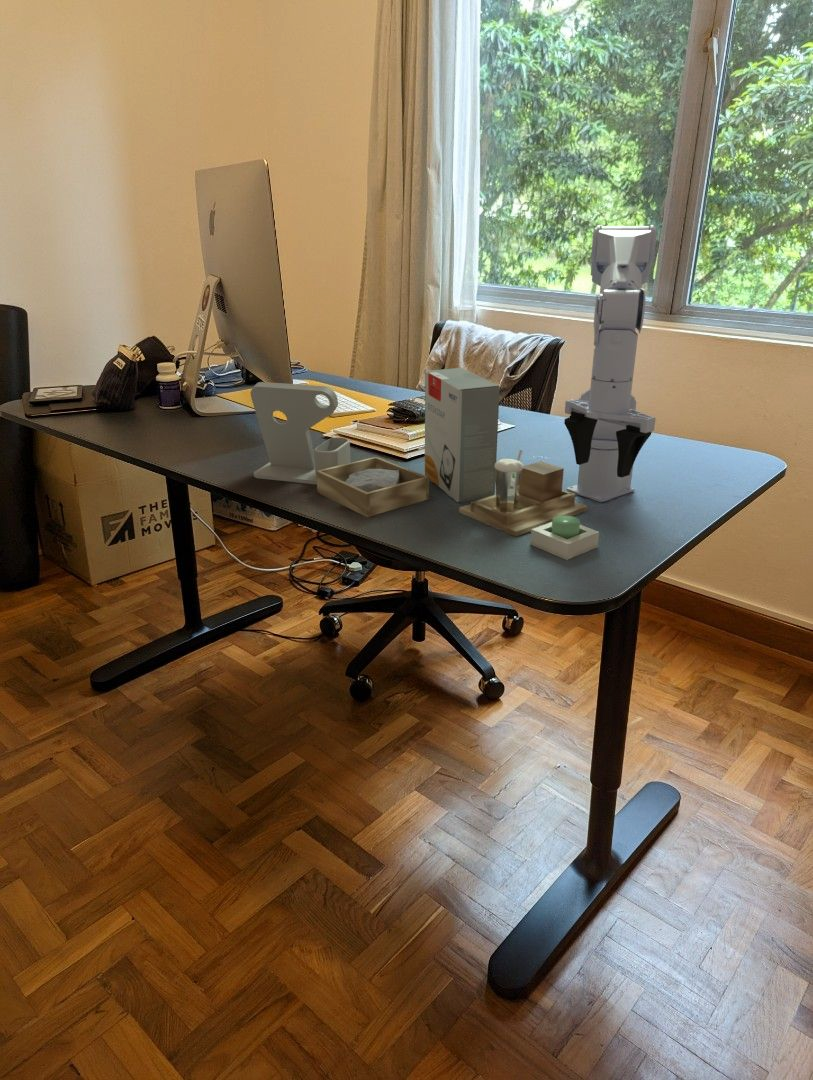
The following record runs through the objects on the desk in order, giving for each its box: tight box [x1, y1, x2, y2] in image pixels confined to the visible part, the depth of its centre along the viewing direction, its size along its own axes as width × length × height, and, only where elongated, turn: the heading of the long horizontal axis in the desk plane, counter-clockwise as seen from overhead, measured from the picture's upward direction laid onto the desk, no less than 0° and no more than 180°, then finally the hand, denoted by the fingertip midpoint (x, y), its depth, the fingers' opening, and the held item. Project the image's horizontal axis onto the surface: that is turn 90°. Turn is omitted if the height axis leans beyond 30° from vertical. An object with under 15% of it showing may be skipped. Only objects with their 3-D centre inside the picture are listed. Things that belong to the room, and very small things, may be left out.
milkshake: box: [494, 449, 524, 514], centre depth 119 cm, size 5×5×10 cm
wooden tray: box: [316, 456, 430, 518], centre depth 131 cm, size 13×15×4 cm
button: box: [551, 516, 581, 539], centre depth 110 cm, size 4×4×2 cm
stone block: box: [345, 469, 400, 492], centre depth 131 cm, size 12×5×10 cm
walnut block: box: [519, 461, 565, 502], centre depth 125 cm, size 5×5×6 cm
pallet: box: [458, 488, 588, 537], centre depth 124 cm, size 17×13×2 cm
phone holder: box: [250, 381, 351, 485], centre depth 139 cm, size 17×10×18 cm, turn 72°
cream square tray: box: [530, 522, 600, 561], centre depth 111 cm, size 7×7×2 cm
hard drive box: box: [424, 367, 501, 503], centre depth 132 cm, size 16×8×20 cm, turn 21°
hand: (602, 469), depth 111 cm, fingers open, 7 cm apart
